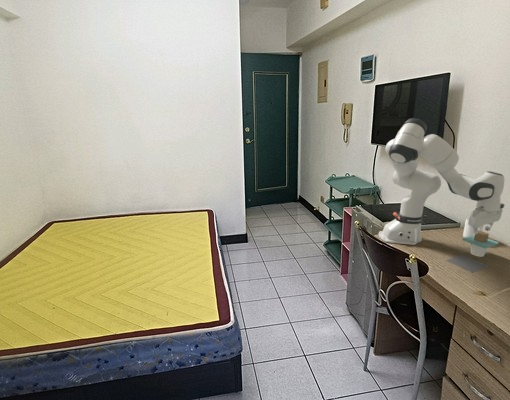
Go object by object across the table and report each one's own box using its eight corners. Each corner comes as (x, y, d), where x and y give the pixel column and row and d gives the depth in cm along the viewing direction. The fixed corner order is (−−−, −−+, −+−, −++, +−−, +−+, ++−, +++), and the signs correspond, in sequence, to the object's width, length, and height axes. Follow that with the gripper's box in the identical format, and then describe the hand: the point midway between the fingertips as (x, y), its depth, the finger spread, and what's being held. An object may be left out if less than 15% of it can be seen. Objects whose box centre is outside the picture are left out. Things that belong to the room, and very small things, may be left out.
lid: (484, 248, 153) (486, 239, 152) (462, 240, 163) (463, 231, 161) (498, 244, 158) (500, 235, 156) (475, 235, 167) (477, 227, 166)
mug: (485, 244, 173) (489, 226, 170) (468, 243, 175) (471, 225, 172) (476, 235, 184) (480, 218, 181) (460, 234, 186) (463, 217, 183)
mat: (472, 273, 145) (472, 272, 145) (445, 261, 156) (445, 260, 156) (489, 266, 151) (490, 266, 150) (462, 255, 162) (462, 254, 162)
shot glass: (485, 259, 158) (488, 246, 156) (469, 255, 161) (471, 243, 159) (485, 253, 163) (487, 240, 161) (469, 250, 167) (471, 238, 165)
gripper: (481, 210, 148) (475, 238, 152) (506, 204, 156) (500, 230, 160) (467, 206, 153) (462, 233, 157) (492, 200, 162) (487, 226, 166)
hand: (481, 231), depth 159 cm, fingers open, 8 cm apart
